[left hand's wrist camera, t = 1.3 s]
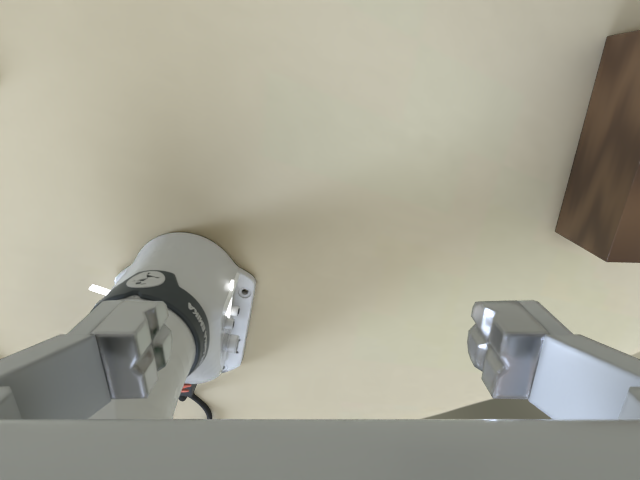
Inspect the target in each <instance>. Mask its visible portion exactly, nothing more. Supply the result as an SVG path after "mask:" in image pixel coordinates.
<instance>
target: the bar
mask: <svg viewBox="0 0 640 480" xmlns="http://www.w3.org/2000/svg"><path fill="white" fill-rule="evenodd" d="M555 232H556V233H558V234H560V235H562V236H563V237H565V238H567V239H568V240H570V241H572V242H573V243H575V244H577V245H579V246H580V247H582V248H584V249H585V250H587V251H589V252H590V253H592V254H594V255H595V256H597V257H599V258H601V259H602V260H604V261H606V262H631V263H640V30H637V31H632V32H627V33H622V34H617V35H612V36H607V39H606V43H605V46H604V50H603V54H602V58H601V61H600V65H599V69H598V73H597V76H596V80H595V84H594V88H593V91H592V95H591V99H590V103H589V106H588V110H587V114H586V118H585V121H584V125H583V129H582V133H581V136H580V140H579V144H578V148H577V151H576V155H575V159H574V163H573V166H572V170H571V174H570V178H569V181H568V185H567V189H566V193H565V196H564V200H563V204H562V208H561V211H560V215H559V219H558V223H557V226H556V230H555Z"/></svg>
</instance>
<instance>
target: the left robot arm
mask: <svg viewBox="0 0 640 480" xmlns="http://www.w3.org/2000/svg"><path fill="white" fill-rule="evenodd" d="M255 288H256V280H255V278H254V277H253V276H252V275H251V274H249V273H248V272H246V271H245V270H243V269H241V268H239V267H238V266H237V265H236V264H235V263H234V262H233V260H232V259H231V258H230V257H229V255H228V254H227V253H226V252H225V251H224V250H223V249H222V248H221V247H219V246H218V245H217V244H215V243H214V242H212V241H210V240H209V239H207V238H204V237H202V236H199V235H196V234H191V233H184V232H175V233H168V234H164V235H161V236H158V237H156V238H154V239H152V240H151V241H149V242H148V243H147V244H146V245H145V246H144V247H143V248H142V249H141V250H140V252H139V253H138V255H137V257H136V258H135V260H134V262H133V263H132V264H131V265H130V266H128V267H127V268H125V269H124V270H122V271H121V272H120V273H119V274H118V275H117V277H116V278H115V285H114V287H113V288H112V289H111V290H108V289H105V288H102V287H99V286H96V285H92V286H91V287H90V288H89V290H91V291H95V292H98V293H101V294H104V295H106V296H105V297H104V298H103V299H102V300H99V301H98V302H97V303H96V305H95V306H94V308H93V309H92V311H91V312H90V313H89V314H88V315H87V316H86V317H85V318H84V319H83V320H82V321H81V322H79V323H78V324H77V325H76V326H75V327H74V328H73V329H72V330H71V331H70V332H69V333H68V334H66V335H58V336H55V337H53V338H51V339H48V340H46V341H43V342H41V343H38V344H36V345H34V346H31V347H29V348H26V349H24V350H22V351H19V352H17V353H14V354H12V355H9V356H7V357H5V358H2V359H0V480H640V359H638V358H635V357H633V356H630V355H628V354H626V353H623V352H621V351H618V350H616V349H614V348H611V347H609V346H606V345H604V344H602V343H599V342H597V341H594V340H592V339H589V338H587V337H585V336H582V335H574V334H573V333H571V332H570V331H569V330H568V329H567V328H566V327H565V326H564V325H563V324H562V323H561V322H560V321H558V320H557V319H556V318H555V317H554V316H553V315H552V314H551V313H550V312H549V311H548V310H547V309H545V308H544V307H543V306H542V305H541V304H540V303H539V302H538V301H534V300H521V301H479V302H475V304H474V306H473V308H472V314H471V317H472V318H473V320H474V321H475V323H476V324H475V325H474V326H473V327H472V328H471V329H470V330H469V332H468V340H467V344H468V353H469V356H470V359H471V361H472V363H473V365H474V367H476V368H478V369H479V370H481V371H482V372H483V373H482V381H483V382H484V384H485V386H486V387H487V389H488V391H489V392H490V394H491V396H492V398H499V399H529V402H531V403H532V404H533V405H535V406H536V407H537V408H539V409H540V410H541V411H543V412H544V413H545V414H547V415H548V416H549V417H550V418H552V419H212V413H211V411H210V409H209V407H208V406H207V405H206V404H205V403H204V402H203V401H202V400H201V399H200V398H198V397H197V396H196V395H195V394H193V392H194V390H195V388H196V385H197V384H199V383H204V382H208V381H211V380H213V379H215V378H216V377H218V376H219V375H220V374H221V373H223V372H227V371H230V370H233V369H235V368H237V367H238V366H240V364H241V362H242V359H243V355H244V349H245V344H246V338H247V333H248V327H249V321H250V316H251V310H252V305H253V299H254V293H255ZM243 289H246V290H247V291H248V292H244V291H243ZM187 396H188V397H189V398H191V399H192V400H194V401H195V402H196V403H198V404H199V405H200V406H201V407H202V408H203V410H204V411H205V413H206V415H207V419H173V415H174V411H175V408H176V405H177V402H178V399H179V400H180V401H185V399H186V398H187Z"/></svg>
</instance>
